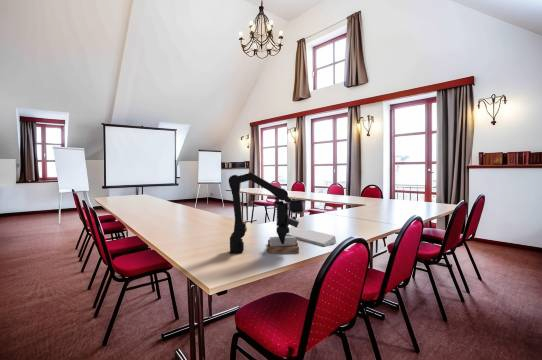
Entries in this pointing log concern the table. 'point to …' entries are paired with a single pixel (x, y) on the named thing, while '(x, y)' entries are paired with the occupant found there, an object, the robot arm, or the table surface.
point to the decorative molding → (312, 236)
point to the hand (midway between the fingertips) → (282, 242)
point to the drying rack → (283, 248)
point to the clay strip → (288, 241)
